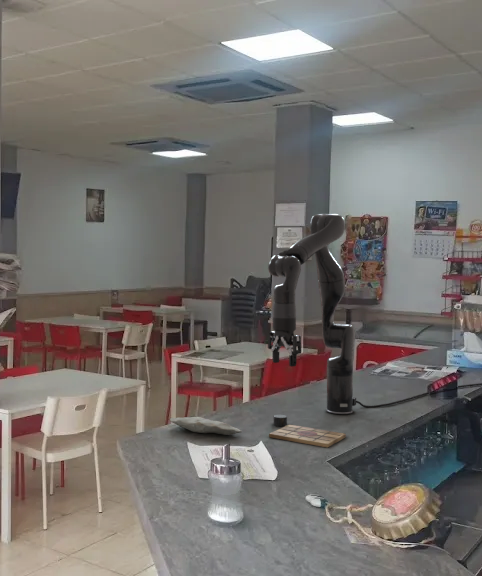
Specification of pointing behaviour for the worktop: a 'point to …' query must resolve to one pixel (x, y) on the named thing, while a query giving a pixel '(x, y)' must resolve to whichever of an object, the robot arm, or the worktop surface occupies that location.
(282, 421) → the dark grey short cylinder
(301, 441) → the grid board
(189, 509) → the worktop surface
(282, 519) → the worktop surface
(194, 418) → the stone tool replica
